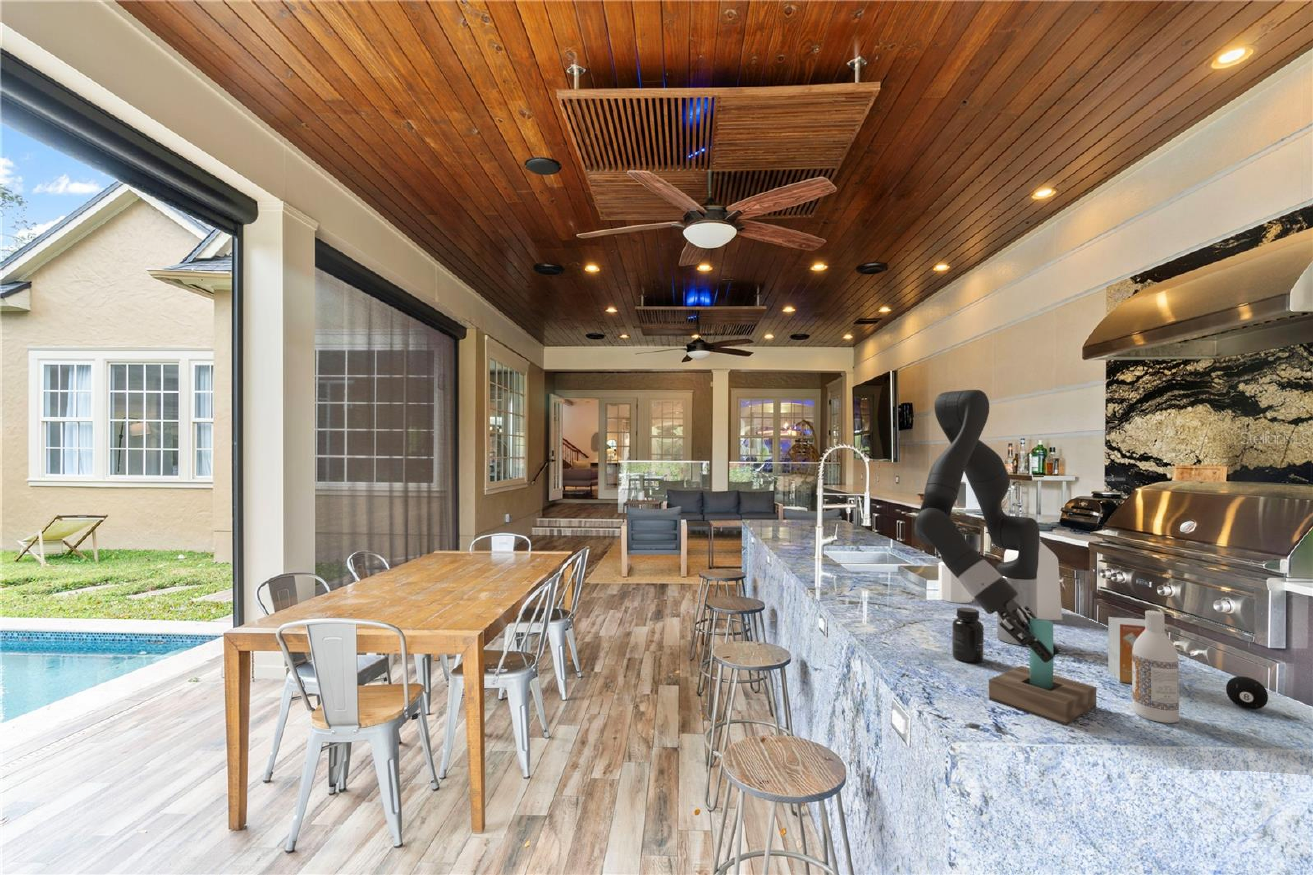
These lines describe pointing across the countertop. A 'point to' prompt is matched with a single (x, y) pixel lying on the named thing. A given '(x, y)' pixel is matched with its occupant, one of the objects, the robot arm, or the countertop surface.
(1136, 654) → the bath foam
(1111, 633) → the small box
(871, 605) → the countertop surface
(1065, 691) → the bore block
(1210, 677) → the countertop surface
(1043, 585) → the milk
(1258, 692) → the billiard ball
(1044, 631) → the pin
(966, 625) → the supplement bottle
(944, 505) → the robot arm
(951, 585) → the toilet paper
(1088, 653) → the countertop surface
